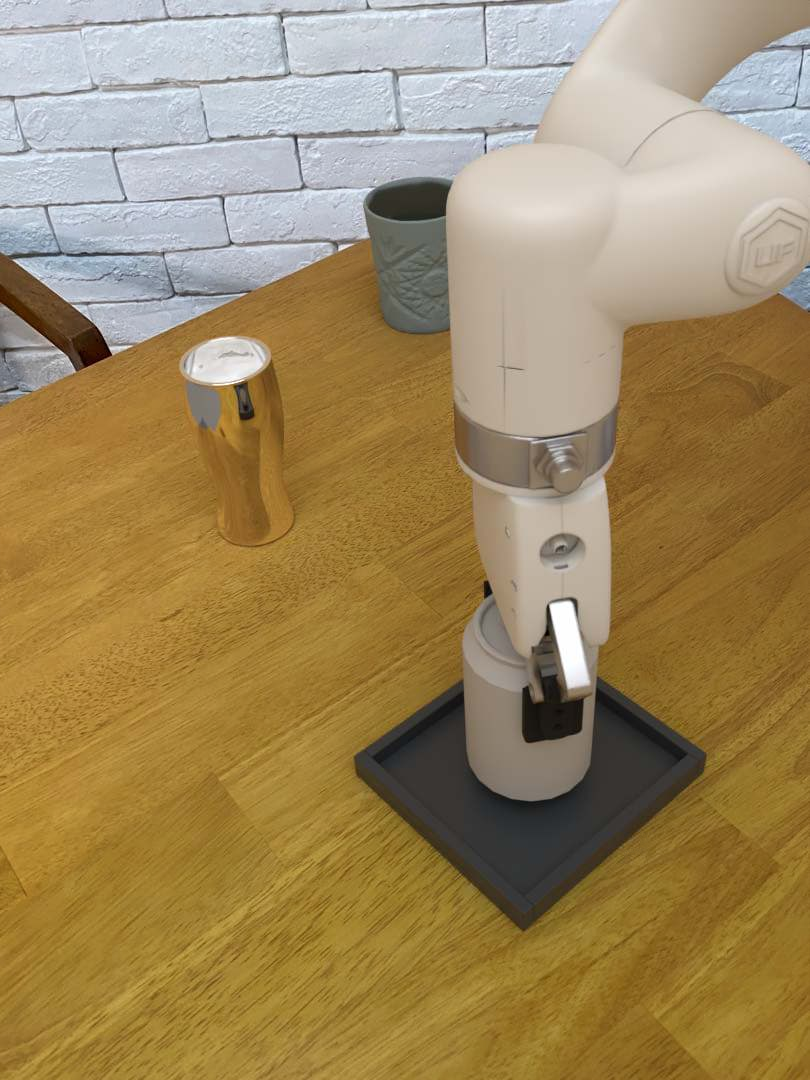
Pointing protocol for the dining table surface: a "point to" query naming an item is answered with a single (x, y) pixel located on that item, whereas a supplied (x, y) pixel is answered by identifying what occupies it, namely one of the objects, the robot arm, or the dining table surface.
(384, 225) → the embossed green cup
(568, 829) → the tray
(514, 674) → the can
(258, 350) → the beer glass
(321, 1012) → the dining table surface
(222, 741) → the dining table surface
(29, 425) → the dining table surface
